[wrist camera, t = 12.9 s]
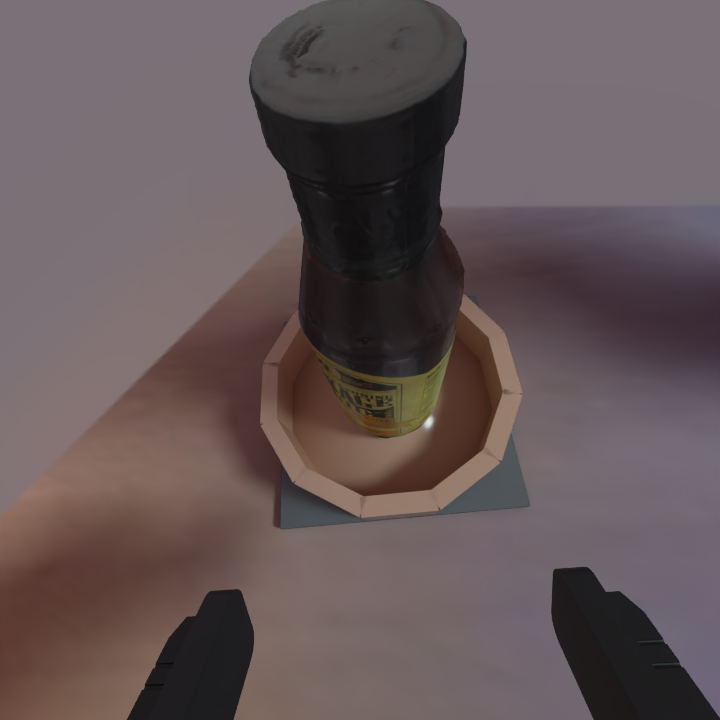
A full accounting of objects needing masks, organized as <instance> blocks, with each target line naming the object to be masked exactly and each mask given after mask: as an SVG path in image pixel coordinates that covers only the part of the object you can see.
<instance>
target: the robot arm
mask: <svg viewBox="0 0 720 720" xmlns="http://www.w3.org/2000/svg"><path fill="white" fill-rule="evenodd" d="M551 614H552V621H553V626H554V629H555V633H556V636H557V639H558V641H559V644H560V646H561V648H562V650H563V653H564V655H565V657H566V659H567V661H568V664H569V666H570V668H571V670H572V673H573V675H574V677H575V679H576V681H577V684H578V686H579V688H580V690H581V693H582V695H583V697H584V699H585V701H586V704H587V706H588V708H589V710H590V712H591V715H592V717H593V719H594V720H720V718H719V716H718V715H717V714H716V712H715V711H714V709H713V708H712V707H711V705H710V704H709V702H708V701H707V700H706V698H705V697H704V695H703V694H702V693H701V691H700V690H699V688H698V687H697V686H696V684H695V683H694V681H693V680H692V678H691V677H690V676H689V674H688V673H687V671H686V670H685V669H684V667H681V665H680V663H679V660H678V659H677V657H676V656H675V655H674V653H673V652H672V650H671V649H670V648H669V646H668V645H667V644H665V643H664V641H663V638H662V636H661V635H660V634H659V632H658V631H657V629H656V628H655V627H654V625H653V624H652V622H651V621H650V620H649V618H648V617H647V615H646V614H645V613H644V612H643V611H642V610H641V609H640V608H639V607H637V606H636V605H635V604H634V603H633V602H632V601H630V600H629V599H628V598H627V597H626V596H625V595H623V594H622V593H621V592H620V591H615V592H605V590H604V589H603V587H602V585H601V584H600V582H599V581H598V579H597V578H596V576H595V575H594V573H593V572H592V571H591V570H590V569H589V568H588V567H576V568H561V569H554V571H553V583H552V608H551ZM253 646H254V631H253V626H252V623H251V620H250V617H249V614H248V611H247V608H246V605H245V602H244V598H243V595H242V593H241V591H240V590H239V589H234V590H219V591H210V592H209V593H208V594H207V595H206V597H205V598H204V600H203V602H202V605H201V607H200V609H199V611H198V613H197V615H196V616H192V617H186V619H185V620H184V621H183V622H182V623H181V624H180V626H179V627H178V628H177V629H176V630H175V631H174V633H173V634H172V635H171V636H170V637H169V638H168V640H167V642H166V644H165V646H164V648H163V650H162V652H161V654H160V656H159V658H158V660H157V662H156V667H155V668H153V670H152V672H151V674H150V676H149V677H148V679H147V681H146V683H145V688H144V690H142V691H141V693H140V695H139V697H138V699H137V701H136V703H135V705H134V707H133V709H132V711H131V713H130V715H129V717H128V719H127V720H233V719H234V716H235V713H236V709H237V706H238V702H239V699H240V695H241V692H242V689H243V685H244V682H245V678H246V675H247V671H248V668H249V665H250V661H251V657H252V653H253Z"/></svg>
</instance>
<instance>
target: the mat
mask: <svg viewBox="0 0 720 720" xmlns="http://www.w3.org/2000/svg"><path fill="white" fill-rule="evenodd" d="M468 298H469V299H470V300H471V301H472V302H473V303H474V304H476V305H477V303H476V299H475V296H470V297H468ZM287 323H288V322H284V328H285V326H286V324H287ZM529 506H530V503H529V499H528V495H527V491H526V488H525V484H524V480H523V476H522V472H521V469H520V465H519V461H518V457H517V454H516V450H515V446H514V442H513V438H512V435H511V433H510V436H509V440H508V443H507V446H506V449H505V452H504V455H503V459H502V461H501V462H500V464H498V465H497V466H496V467H495V468H494V469H493V470H491V471H490V472H489V473H488V474H486V475H485V476H484V477H483V478H481V479H480V480H479V481H478V482H476V483H475V484H474V485H473V486H471V487H470V488H469V489H467V490H466V491H465V492H464V493H463V494H461V495H460V496H459V497H457V498H456V499H455V500H454V501H452V502H451V503H450V504H448V505H447V506H446V507H445V508H443V509H442V510H441V511H440V512H438V513H436V514H431V515H420V516H410V517H404V518H411V517H422V516H433V515H444V514H454V513H465V512H476V511H487V510H498V509H509V508H520V507H529ZM389 519H400V518H388V519H377V520H365V519H362V518H360V517H358V516H356V515H354V514H352V513H350V512H348V511H346V510H344V509H342V508H340V507H338V506H336V505H334V504H332V503H330V502H328V501H327V500H325V499H323V498H321V497H319V496H317V495H315V494H313V493H311V492H309V491H307V490H305V489H303V488H301V487H299V486H298V485H296V484H294V483H293V482H292V480H291V478H290V477H289V475H288V473H287V471H286V470H285V468H284V466H283V464H282V465H281V528H280V529H291V528H302V527H313V526H324V525H335V524H345V523H356V522H367V521H378V520H389Z"/></svg>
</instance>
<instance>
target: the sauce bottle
mask: <svg viewBox="0 0 720 720" xmlns="http://www.w3.org/2000/svg"><path fill="white" fill-rule="evenodd" d="M466 45H467V41H466V38H465V37H464V35H463V33H462V30H461V27H460V25H459V24H458V22H457V21H456V20H455V19H454V18H453V17H451V16H450V15H449V14H448V13H447V12H446V11H445V10H444V9H442V8H441V7H440V6H437V5H435V4H433V3H430V2H428V1H424V0H327V1H323V2H320V3H317V4H314V5H311V6H309V7H307V8H305V9H304V10H300V11H298V12H297V13H296V14H294V15H292V16H290V17H288V18H286V19H285V20H283V21H282V22H281V23H279V24H278V25H277V26H276V27H274V28H273V29H272V30H271V31H270V33H269V34H268V35H267V36H266V37H264V38H263V39H262V40H261V42H260V44H259V46H258V48H257V50H256V52H255V55H254V57H253V59H252V64H251V70H250V76H249V84H250V89H251V94H252V97H253V99H254V102H255V107H256V110H257V114H258V117H259V120H260V123H261V128H262V133H263V135H264V138H265V141H266V144H267V147H268V148H269V150H270V151H271V153H272V154H273V156H274V157H275V159H276V160H277V161H278V162H279V163H280V165H281V166H282V167H283V168H284V170H285V171H286V173H287V178H288V180H289V183H290V188H291V190H292V194H293V198H294V200H295V202H296V204H297V208H298V211H299V214H300V217H301V219H302V221H301V226H302V233H303V236H304V242H303V255H302V267H301V281H300V294H299V307H298V316H299V321H300V325H301V327H302V330H303V332H304V334H305V336H306V339H307V340H308V342H309V344H310V346H311V348H312V350H313V352H314V354H315V356H316V358H317V360H318V363H319V365H320V366H321V369H322V370H323V373H324V375H325V377H326V378H327V379H328V382H329V384H330V386H331V387H332V389H333V391H334V393H335V395H336V397H337V399H338V401H339V402H340V404H341V406H342V408H343V410H344V412H345V413H346V415H347V416H348V418H349V419H350V420H351V421H352V422H353V423H354V424H355V425H356V426H357V427H358V428H360V429H362V430H364V431H365V432H367V433H370V434H372V435H375V436H378V437H380V438H385V439H388V438H391V437H398V436H403V435H405V434H409V433H410V432H413V431H415V430H416V429H418V428H420V427H421V426H422V425H423V423H424V422H425V421H426V420H427V419H428V418H429V416H430V415H431V413H432V412H433V410H434V409H435V406H436V402H437V399H438V395H439V392H440V388H441V384H442V381H443V378H444V374H445V371H446V367H447V363H448V360H449V356H450V352H451V348H452V345H453V341H454V338H455V333H456V328H457V316H458V313H459V309H460V307H461V304H462V297H463V288H464V283H463V282H464V267H463V265H462V262H461V259H460V257H459V255H458V252H457V250H456V248H455V246H454V244H453V243H452V241H451V239H450V238H449V237H448V235H447V234H446V231H445V230H444V229H443V228H442V227H441V226H440V222H441V217H442V210H441V207H440V191H441V182H442V173H443V163H444V154H445V146H446V144H447V142H448V141H449V139H450V138H451V136H452V135H453V133H454V130H455V127H456V126H457V124H458V120H459V115H460V108H461V99H462V91H463V83H464V70H465V61H466V47H467V46H466Z"/></svg>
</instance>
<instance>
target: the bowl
mask: <svg viewBox="0 0 720 720" xmlns="http://www.w3.org/2000/svg"><path fill="white" fill-rule="evenodd" d="M263 363H264V364H263V368H262V391H261V414H260V424H261V427H262V429H263V431H264V433H265V434H266V436H267V438H268V440H269V441H270V443H271V445H272V447H273V448H274V450H275V452H276V454H277V455H278V457H279V459H280V461H281V463H282V464H283V466H284V468H285V470H286V471H287V473H288V475H289V477H290V478H291V480H292V482H293V483H294V484H296V485H298V486H299V487H301V488H303V489H305V490H307V491H309V492H311V493H313V494H315V495H317V496H319V497H321V498H323V499H325V500H327V501H328V502H330V503H332V504H334V505H336V506H338V507H340V508H342V509H344V510H346V511H348V512H350V513H352V514H354V515H356V516H358V517H360V518H362V519H365V520H377V519H388V518H404V517H410V516H420V515H431V514H436V513H438V512H440V511H441V510H442V509H443V508H445V507H446V506H447V505H448V504H450V503H451V502H452V501H454V500H455V499H456V498H457V497H459V496H460V495H461V494H463V493H464V492H465V491H466V490H467V489H469V488H470V487H471V486H473V485H474V484H475V483H476V482H478V481H479V480H480V479H481V478H483V477H484V476H485V475H486V474H488V473H489V472H490V471H491V470H493V469H494V468H495V467H496V466H497V465H498V464H500V462H501V461H502V459H503V455H504V452H505V449H506V446H507V443H508V440H509V436H510V433H511V430H512V427H513V424H514V421H515V417H516V414H517V411H518V408H519V405H520V402H521V398H522V389H521V386H520V383H519V379H518V376H517V372H516V369H515V365H514V362H513V359H512V355H511V352H510V348H509V345H508V342H507V338H506V335H505V332H503V330H502V329H501V328H500V327H499V326H498V325H497V324H496V323H495V322H494V321H493V320H492V319H491V318H490V317H488V316H487V315H486V314H485V313H484V312H483V311H482V310H481V309H480V308H479V307H478V306H477V305H476V304H474V303H473V302H472V301H471V300H470V299H469V298H468V297H467V296H466V295H465V294H464V293H463V297H462V304H461V307H460V309H459V313H458V316H457V328H456V333H455V338H454V341H453V345H452V348H451V352H450V356H449V360H448V363H447V367H446V371H445V374H444V378H443V381H442V384H441V388H440V392H439V395H438V399H437V402H436V406H435V409H434V410H433V412H432V413H431V415H430V416H429V418H428V419H427V420H426V421H425V422H424V423H423V425H422V426H421V427H420V428H418V429H416V430H415V431H413V432H410V433H409V434H405V435H403V436H398V437H391V438H388V439H385V438H380V437H378V436H375V435H372V434H370V433H367V432H365V431H364V430H362V429H360V428H358V427H357V426H356V425H355V424H354V423H353V422H352V421H351V420H350V419H349V418H348V416H347V415H346V413H345V412H344V410H343V408H342V406H341V404H340V402H339V401H338V399H337V397H336V395H335V393H334V391H333V389H332V387H331V386H330V384H329V382H328V379H327V378H326V377H325V375H324V373H323V370H322V369H321V366H320V365H319V363H318V360H317V358H316V356H315V354H314V352H313V350H312V348H311V346H310V344H309V342H308V340H307V339H306V336H305V334H304V332H303V330H302V327H301V325H300V321H299V316H298V310H297V311H296V312H295V314H294V313H293V315H292V316H291V318H290V320H289V321H288V323H287V324H286V326H285V328H284V329H283V331H282V333H281V334H280V336H279V337H278V339H277V341H276V342H275V344H274V346H273V347H272V349H271V350H270V352H269V354H268V355H267V357H266V359H265V360H264V362H263Z"/></svg>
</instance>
